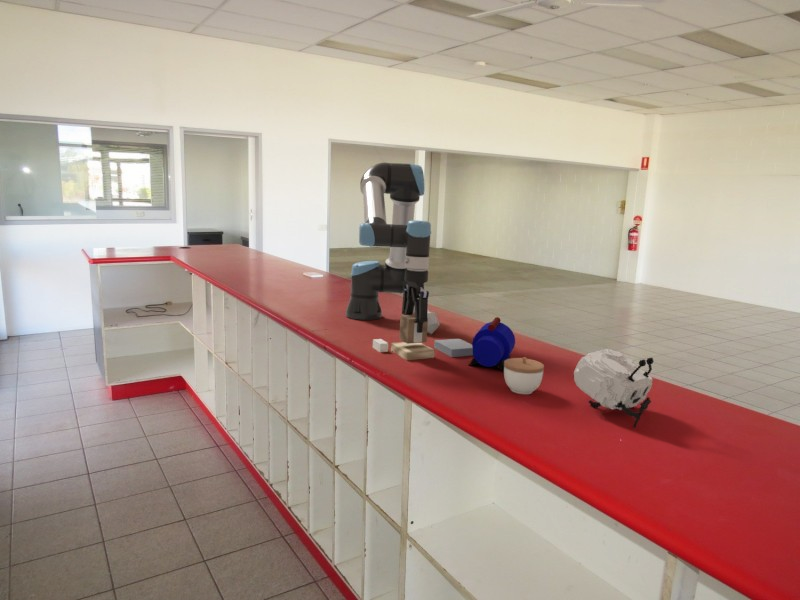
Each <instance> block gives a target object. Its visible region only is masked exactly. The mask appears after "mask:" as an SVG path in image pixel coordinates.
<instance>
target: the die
mask: <svg viewBox="0 0 800 600" xmlns="http://www.w3.org/2000/svg"><path fill="white" fill-rule="evenodd" d="M427 318H428V326H427V335H432V334H433V333H434V332H435V331H436V330H437V329H438V328H439V326H441V324H440V321H439V318H438V315H437V312H435V311H430V310H429V311H427Z"/></svg>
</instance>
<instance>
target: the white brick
mask: <svg viewBox="0 0 800 600" xmlns="http://www.w3.org/2000/svg"><path fill="white" fill-rule="evenodd" d="M372 349H374V350H376V351H377V352H378V353H384V352H385V353H386V352H389V342H388V341H386V340H384V339H382V338H376V339H375V338H373V339H372Z"/></svg>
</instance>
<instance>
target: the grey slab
mask: <svg viewBox="0 0 800 600" xmlns="http://www.w3.org/2000/svg"><path fill="white" fill-rule="evenodd" d="M433 349H435V350H438V351H439V352H441V353H443V354H445V355H446V356H449V357H451V358H455V357H457V358H458V357H468V356H473V347H472V343H470V342H468V341H466V340H464V339H461V338H450V339H449V338H448V339H435V340H434V342H433Z"/></svg>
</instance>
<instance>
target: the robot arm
mask: <svg viewBox="0 0 800 600" xmlns="http://www.w3.org/2000/svg"><path fill="white" fill-rule="evenodd" d="M424 175H425V174H424V170H423V167H422V165H419V164H412V163H398V162H397V163H396V162H380V163H376V164H374V165H372V166H371V167H369V168H368V169H367V170H366V171H365V172H364V173H363V175H362V177H361V179H360V182H359V184H360V185H359V187H360V192H361V194H362V196H363V198H362V199H363V219H364V221H363V222H362V223H360V224H359V228H358V230H359V231H358V243H359V245H361V246H365V247H371V248H372V247H375V248H376V247H381V248H382V247H383V248H384V247H386V248H387V247H388V248H389V256H388V258H386V259H385V263H384V264H381V262H380V261H379V260H366V261H363V260H362V261H359V262H355V263H353V264H352V265H351V271H350V276H351V282H350V298H349V301H348V303H347V307H346V310H345V316H346V317H347V318H350V319H352V320H361V321H369V320H371V321H373V320H378V319H381V318H382V316H383V315H382V313H383V312H382V311H383V310H382V308H381V304H380V302H379V301H380V300H379V293H393V294H395V293H396V294H403V295H402V305H401V306H402V307H401V315H415V316H416V321H414V340H413V342H414V343H415V342H422V331H423V323H424V322H427V310H429V308H428V304H429V303H428V302H429V301H428V298H429V294H430V293H429V292H430V291H428V290H425V283H428V281H429V271H428V270H429V268H430V247H431V244H430V243H431V234H432V230H431V229H432V228H431V227H432V225H431V222H430V221H427V220H415V219H414V217H415V208H416V204H417V203H418V202H419V201H420V197H422V196H424V195H425V176H424ZM385 194H386V195H388V194H389V199H390V200H391V201H392V204H393V205H392V216H391V217H392V218H391V224H389V223H387V214H386V213H387V212H386V204H385V202H386V201H385ZM414 305H415V314H413V309H414ZM422 343H423V342H422Z"/></svg>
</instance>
